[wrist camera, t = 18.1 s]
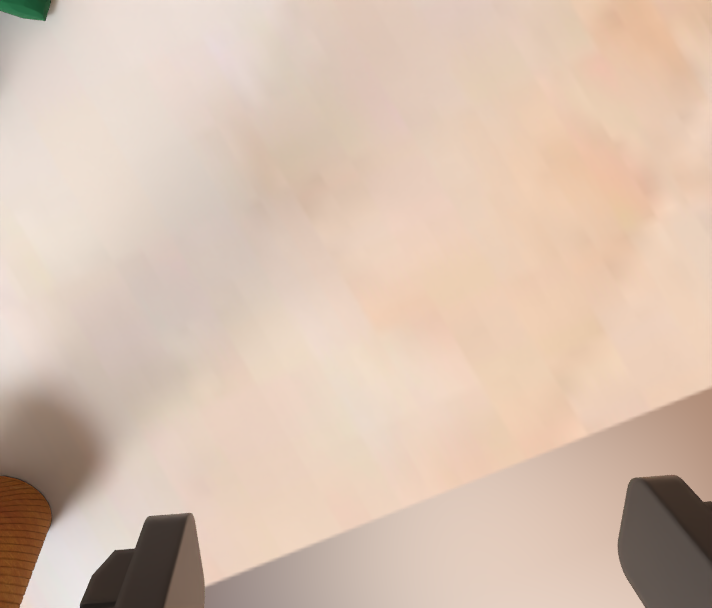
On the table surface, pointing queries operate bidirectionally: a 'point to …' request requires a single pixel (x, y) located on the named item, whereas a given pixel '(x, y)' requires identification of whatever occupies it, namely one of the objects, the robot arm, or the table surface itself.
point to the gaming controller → (26, 8)
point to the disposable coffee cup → (20, 537)
